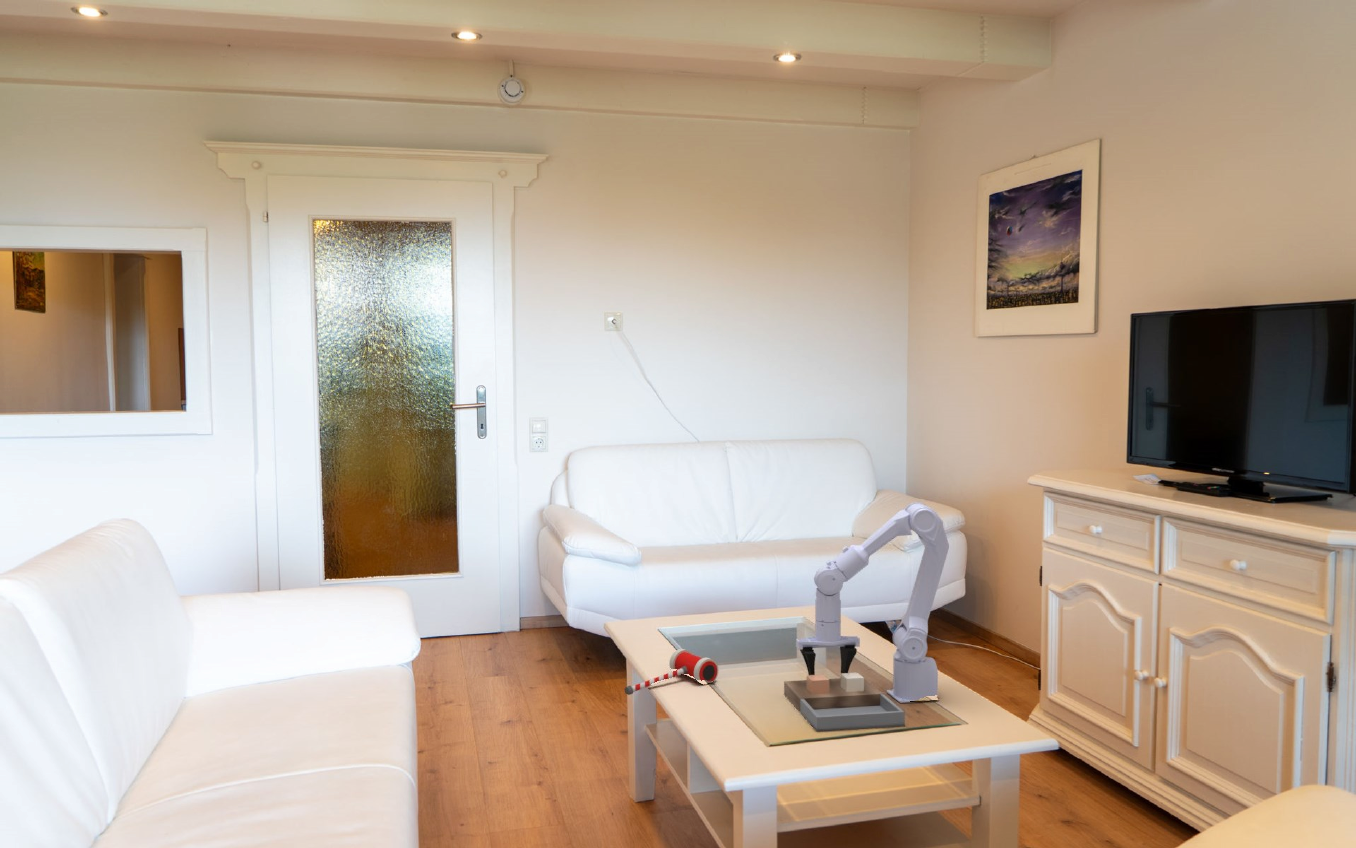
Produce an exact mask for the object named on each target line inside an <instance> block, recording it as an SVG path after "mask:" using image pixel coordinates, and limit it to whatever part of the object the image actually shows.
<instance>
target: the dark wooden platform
mask: <svg viewBox="0 0 1356 848" xmlns="http://www.w3.org/2000/svg"><path fill="white" fill-rule="evenodd" d="M828 679H829V693H824V694H811V693H810V692H809V691H808V690H807V679H804V680H803V679H802V680H785V681H783V695H784V696H785V697H786V699H788V700H789V701H790V703H791V705H793V706H794V707H795V709H796V710H797V711H798V712H799V713H800V699H804V700H805V701H806V702H807V703H808V704H809V705H810V706H811V707H812V708H813V709H814V710H817V709H834V708H850V707H866V706H880V694H884V693H883V692H881V690H879V689H878V688H877V687H876V686H874V685H873V684H872V683H871V682H869V680H867V679H866V678H865V677H864V691H858V692H846V691H845V690H844V689H843V688H842V687H841V677H838V678H836V677H835V678H828Z"/></svg>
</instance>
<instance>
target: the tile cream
mask: <svg viewBox="0 0 1356 848" xmlns="http://www.w3.org/2000/svg"><path fill="white" fill-rule="evenodd" d="M840 678H841V687H842V688H843V689H844V690H845V691H846V692H858V691H864V678H865V677H863V676H862V674H860V673H859V672H848V673H841V672H840Z"/></svg>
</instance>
